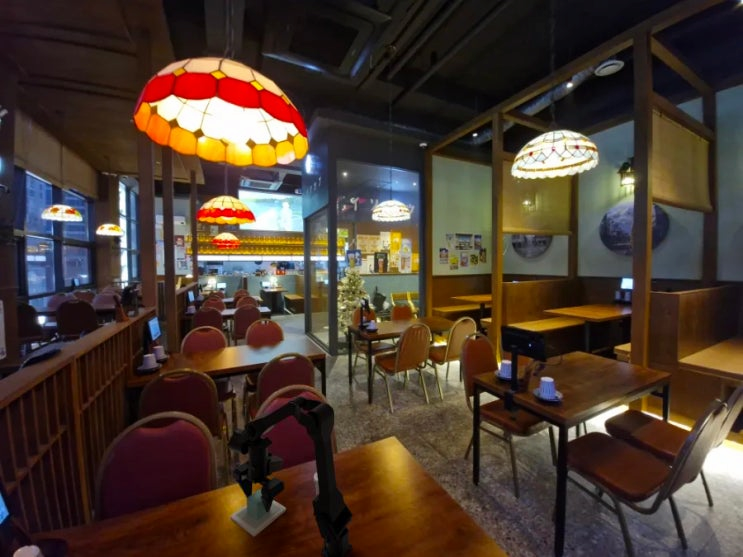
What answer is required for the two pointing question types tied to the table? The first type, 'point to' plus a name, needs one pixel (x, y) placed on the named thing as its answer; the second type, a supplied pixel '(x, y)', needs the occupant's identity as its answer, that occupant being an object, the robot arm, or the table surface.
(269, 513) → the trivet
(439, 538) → the table surface
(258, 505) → the cube
